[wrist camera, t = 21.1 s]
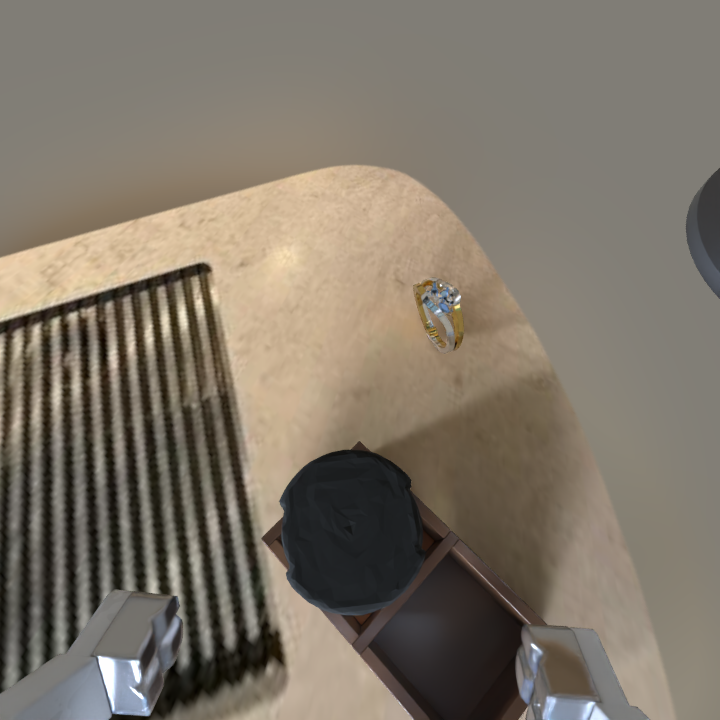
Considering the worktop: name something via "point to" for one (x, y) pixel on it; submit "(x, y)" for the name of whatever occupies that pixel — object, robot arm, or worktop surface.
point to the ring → (440, 312)
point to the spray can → (351, 532)
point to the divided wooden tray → (442, 632)
